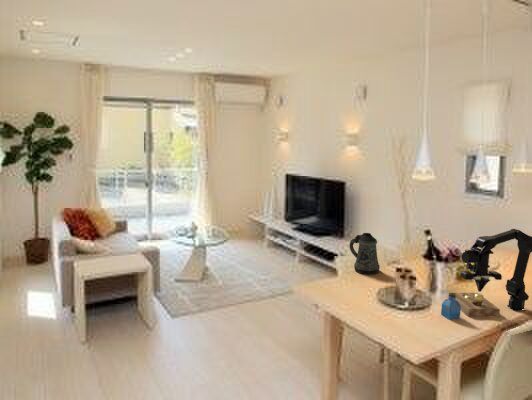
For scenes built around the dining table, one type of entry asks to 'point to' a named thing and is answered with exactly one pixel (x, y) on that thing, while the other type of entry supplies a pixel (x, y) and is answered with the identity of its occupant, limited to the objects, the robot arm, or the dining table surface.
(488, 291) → the dining table surface
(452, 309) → the perfume bottle
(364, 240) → the beer stein
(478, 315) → the socket board
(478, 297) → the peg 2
